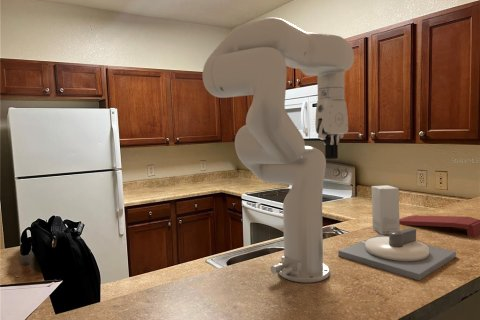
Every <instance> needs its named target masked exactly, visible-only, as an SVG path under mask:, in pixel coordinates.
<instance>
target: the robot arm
mask: <svg viewBox="0 0 480 320" xmlns="http://www.w3.org/2000/svg"><path fill="white" fill-rule="evenodd" d="M354 60H355V53H354V50H353V47H352V45H351V43H350V42H349V41H348V40H346V39H345V38H344V37H342V36H339V35H335V34H329V33H328V34H327V33H319V32H308V31H307V32H306V31H304V30H303V29H301V28H299V27H297V26H296V25H294V24H292V23H290V22H289V21H286V20H285V19H282V18H278V17H268V18H265V19H260V20H257V21H252V22H249V23H245V24H241V25H238V26H237V27H235V28H234V29H232V30H231V31H230V32H229V33H228V34H227V35H226V36H225V37H224V38H223V39H222V41H220V43H219V44H218V45H217V47H216V48H215V49H214V50H213V51H212V53H211V54H210V55H209V56H208V58H207V59H206V61H205V63H204V64H203V65H204V66H203V69H202V82H203V87H204V88H205V89H206V91H207V92H208V93H209V94H210V95H212V96H213V97H216V98H220V99H221V98H222V99H224V98H234V97H245V96H253V97H252V102H251V105H250V107H249V109H248V110H247V113H246V118H245V124H244V125H243V126H242V127H240V128H239V129H238V131H237V132H236V134H235V138H234V148H235V149H234V150H235V152H236V155H237V157H238V159H239V161H240V162H241V164H243V166H245V167H246V168H247V169H248V170H249V171H250V172H252V174H253V175H254V176H256V177H257V178H258V179H259V180H261V181H262V182H265V183H269V184H277V185H288V186H291V188H290V189H289V190H288V192H287V194H286V196H285V198H284V199H283V203H282V212H283V213H282V214H283V215H282V217H283V223H282V224H283V256H280V258H281V259H280V260H281V261H279V263H275V264H273V265H271V266H270V272H271V273H272V274H273V275H276V274H279V276H280V277H282V278H284V279H286V280H289V281H292V282H296V283H303V284H304V283H305V284H306V283H317V282H321V281H323V280H326V279H327V278H328V277H329V276H330V268H329V266H328V265H327V264H325V263H324V248H323V247H324V246H323V245H324V244H323V241H324V240H323V238H324V237H323V233H324V232H323V189H324V183H325V182H324V181H325V174H326V167H327V159H329V160H333V159H335V160H336V159H338V156H339V151H338V147H339V146H338V145H339V143H340V139H342V138H344V137H345V135H344V134H347V133H348V132H349V116H348V114H349V113H348V107H347V106H348V105H347V102H346V100H345V73H346V72H348V71H349V70H350V69H351V68H352V66H353V64H354ZM287 67H288V68H291V69H297V70H298V69H299V70H300V71H301V72H302V73H303V74H304V75H305V76H308V77H316V76H317V78H316V79H317V80H316V81H317V102H316V109H315V132H316V134H317V138H318V139H320V140H322V141H323V145H324V149H325V152H324V153H323V152H322V151H321V150H320V149H318V148H316V147H313V146H309V145H306V143H305V139H304V137H303V135H302V133H301V131H300V130H299V129H298V127H297V126H296V125H295V123H294V121H293V120H292V118H291V117H290V115H289V114H288V113H287V111H286V108H285V107H286V106H285V105H286V104H285V103H286V90H287V75H288V74H287V73H288V72H287V70H288V69H287ZM324 154H325V155H324Z"/></svg>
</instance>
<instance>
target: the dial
mask: <svg viewBox="0 0 480 320" xmlns="http://www.w3.org/2000/svg"><path fill="white" fill-rule="evenodd" d="M388 236H389V237H375V238H372V237H370V238H371V239H369V238H367V239H368V240H367V241H366V242H365V249H366V250H367V251H368V252H369V253H371V254H373V255H375V256H378V257H381V258H385V259H390V260H397V261H418V260H423V259H425V258H427V257H428V256H429V247H428V246H427V245H428V244H425V243H423V242H421V241H417V229H416V228H413V227H408V228H405V229H401V230H400V231H397V232H396V231H392V232H389V235H388Z"/></svg>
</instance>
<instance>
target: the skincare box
mask: <svg viewBox="0 0 480 320" xmlns="http://www.w3.org/2000/svg"><path fill="white" fill-rule="evenodd" d="M371 208H372V210H371V211H372V215H371V216H372V229H373V230H374V231H375V232H378V234H380V235H385V236H389V232H392V231H396V232H397V231H401V230H400V229H401V228H400V225H401V224H399V219H400V188H399V187H395V186H392V185H386V184H385V185H371Z"/></svg>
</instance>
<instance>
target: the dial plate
mask: <svg viewBox="0 0 480 320" xmlns="http://www.w3.org/2000/svg"><path fill="white" fill-rule="evenodd" d="M375 237H389V235H381V234H380V233H378V234H377V235H375V236H371V237H369V238H366V239H364V240H362V241H360V242H356V243H354V244H352V245H349V246H346V247H344V248H341V249H339V250H338V256H339V257H342V258H344V259H348V260H351V261H355V262H357V263H361V264H365V265H367V266H371V267H374V268H378V269H379V270H384V271H387V272H390V273H393V274H397V275H400V276H403V277H405V278H410V279H414V280H416V281H420V280H422V279H423V278H426V277H427V276H429V275H430V274H431V273H433V272H435V271H436V270H438V269H440V268H441V267H442V266H444V265H446V264H447V263H448V262H451V261H452V260H453V259H455V258H456V257H457V251H456V250H451V249H446V248H444V247H443V248H442V247H438V246H433V245H429V244H426V245H427V246H428V247H429V256H428V257H427V258H425V259H423V260H418V261H397V260H390V259H385V258H381V257H378V256H375V255H373V254H371V253H369V252H368V251H367V250H366V249H365V242H366V241H367V240H368V239H371V238H375Z"/></svg>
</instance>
